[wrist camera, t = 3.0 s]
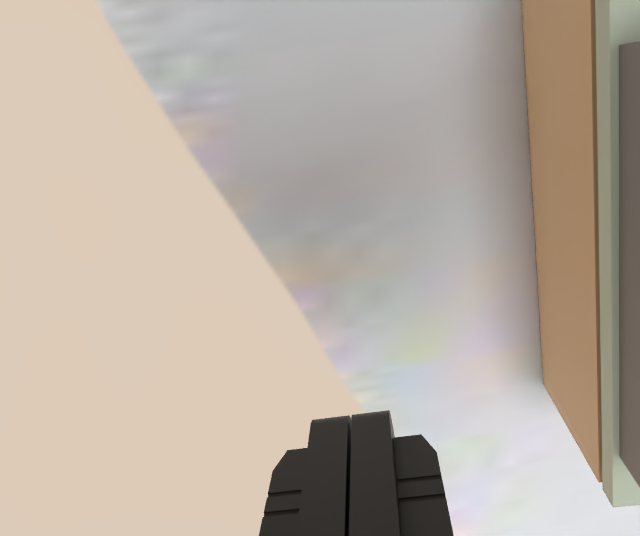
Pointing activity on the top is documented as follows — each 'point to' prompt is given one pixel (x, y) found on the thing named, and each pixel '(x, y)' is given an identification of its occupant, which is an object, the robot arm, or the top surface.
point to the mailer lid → (619, 244)
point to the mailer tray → (566, 209)
